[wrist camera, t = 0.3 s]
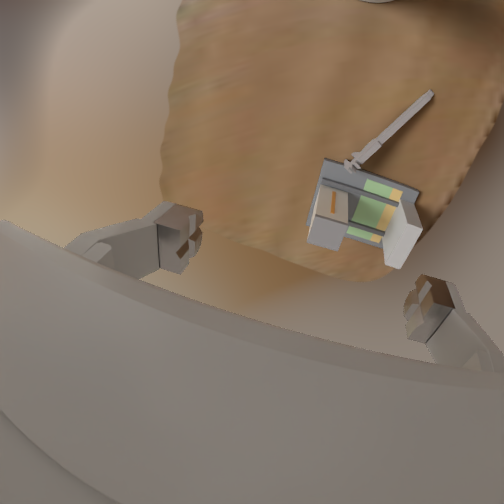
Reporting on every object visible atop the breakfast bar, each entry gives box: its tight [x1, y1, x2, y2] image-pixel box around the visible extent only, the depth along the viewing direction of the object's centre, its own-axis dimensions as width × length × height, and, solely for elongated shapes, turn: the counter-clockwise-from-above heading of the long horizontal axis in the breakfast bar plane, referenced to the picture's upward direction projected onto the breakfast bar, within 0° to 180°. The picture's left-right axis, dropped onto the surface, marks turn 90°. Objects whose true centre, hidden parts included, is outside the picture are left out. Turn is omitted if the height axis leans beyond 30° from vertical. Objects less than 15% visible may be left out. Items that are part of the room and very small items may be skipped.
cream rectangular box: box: [307, 184, 348, 251], centre depth 45 cm, size 5×5×11 cm
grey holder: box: [306, 158, 423, 269], centre depth 46 cm, size 14×18×9 cm
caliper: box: [344, 89, 434, 174], centre depth 36 cm, size 20×1×6 cm, turn 142°
